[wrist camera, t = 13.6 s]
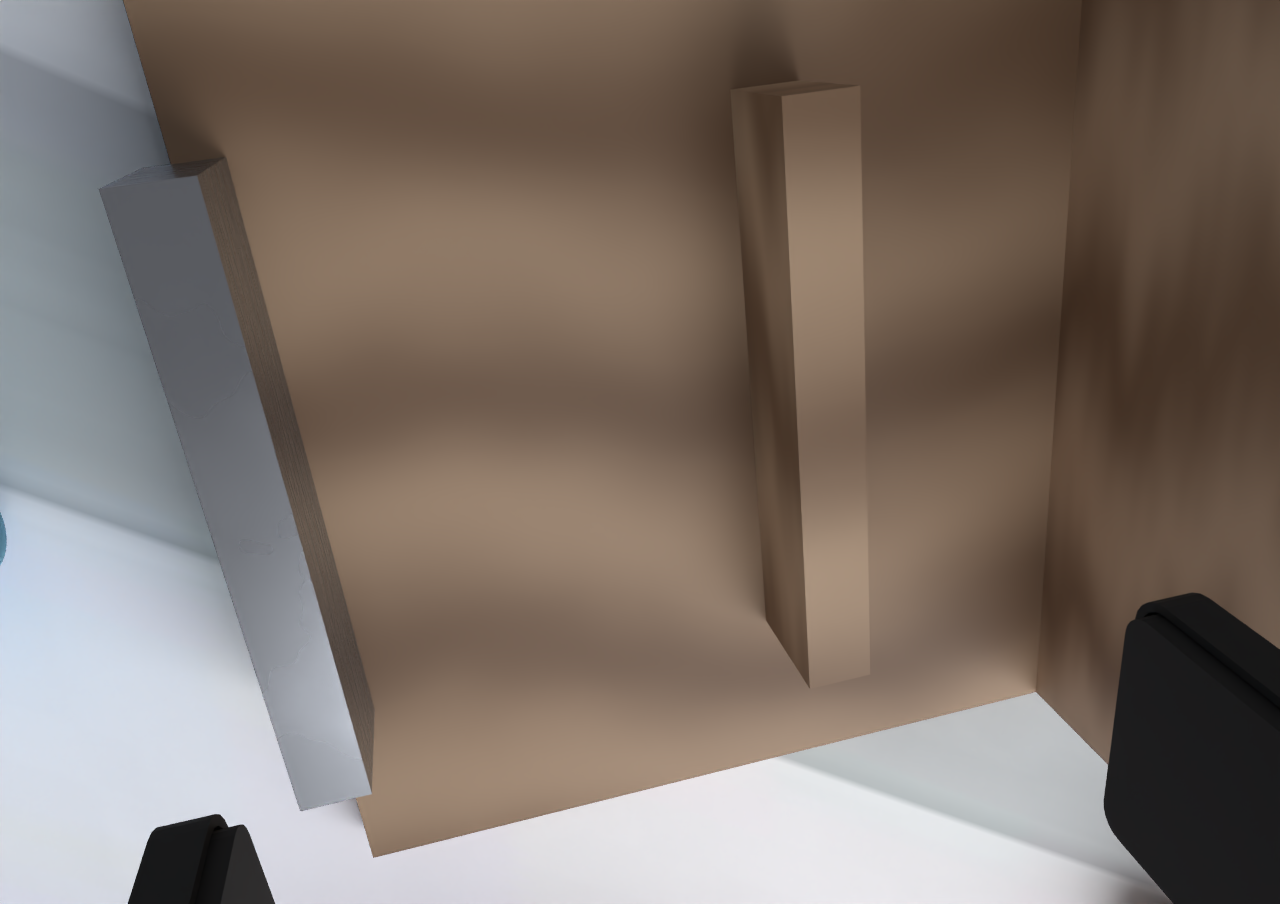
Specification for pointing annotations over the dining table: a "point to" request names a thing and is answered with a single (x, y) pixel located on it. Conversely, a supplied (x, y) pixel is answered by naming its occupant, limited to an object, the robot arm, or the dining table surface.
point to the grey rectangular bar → (248, 464)
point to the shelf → (749, 358)
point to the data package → (2, 539)
